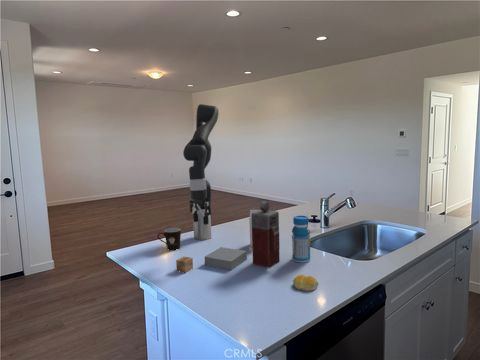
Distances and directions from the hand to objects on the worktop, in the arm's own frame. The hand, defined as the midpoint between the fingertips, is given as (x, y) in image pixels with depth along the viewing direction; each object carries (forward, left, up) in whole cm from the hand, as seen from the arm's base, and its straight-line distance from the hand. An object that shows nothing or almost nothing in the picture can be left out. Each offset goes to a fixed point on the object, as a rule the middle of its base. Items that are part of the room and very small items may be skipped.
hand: (201, 222), depth 153 cm
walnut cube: (0, -14, -18) cm, 22 cm away
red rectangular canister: (+30, +8, -18) cm, 36 cm away
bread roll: (+52, -7, -18) cm, 56 cm away
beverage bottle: (+42, +18, -18) cm, 49 cm away
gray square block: (+12, +1, -18) cm, 21 cm away
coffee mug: (-25, +6, -18) cm, 31 cm away
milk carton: (+15, +28, -18) cm, 37 cm away
